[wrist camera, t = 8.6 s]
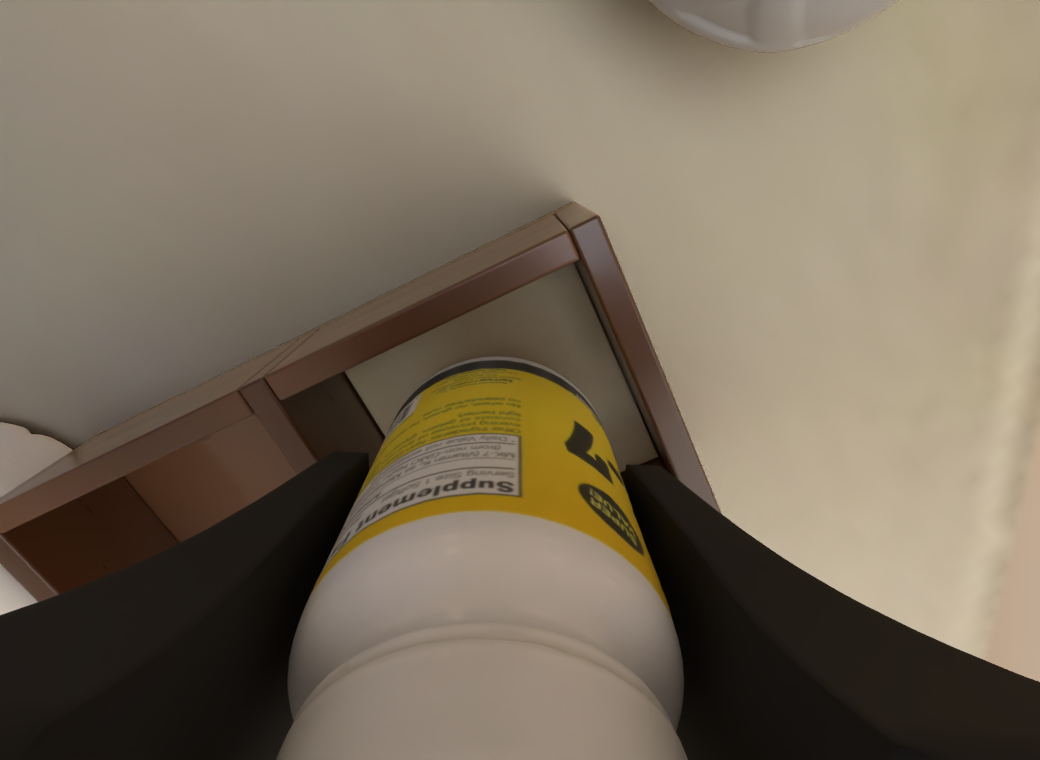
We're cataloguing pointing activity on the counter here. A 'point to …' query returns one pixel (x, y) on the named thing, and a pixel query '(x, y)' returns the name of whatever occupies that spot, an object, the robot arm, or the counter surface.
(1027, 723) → the robot arm
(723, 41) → the figurine
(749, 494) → the counter surface
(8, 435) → the water bottle
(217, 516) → the crate
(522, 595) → the supplement bottle
